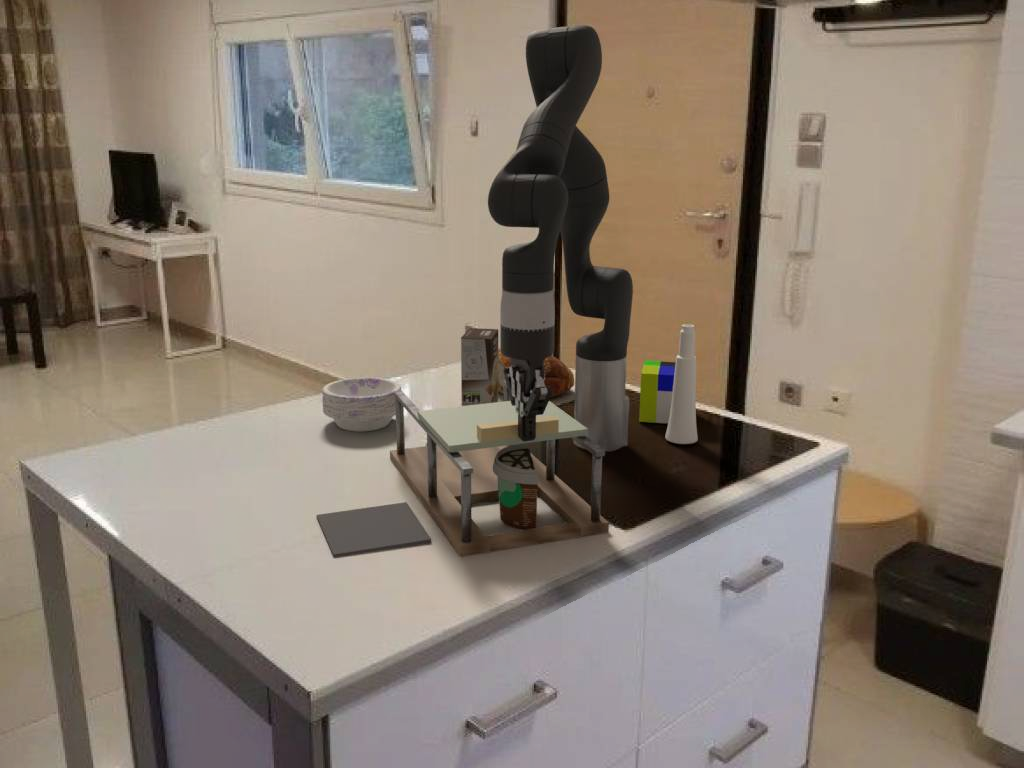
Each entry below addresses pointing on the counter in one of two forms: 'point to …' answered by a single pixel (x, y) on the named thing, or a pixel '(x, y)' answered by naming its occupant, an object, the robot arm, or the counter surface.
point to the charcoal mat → (372, 529)
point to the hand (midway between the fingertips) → (526, 439)
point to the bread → (554, 374)
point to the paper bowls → (360, 403)
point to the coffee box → (479, 366)
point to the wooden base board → (486, 488)
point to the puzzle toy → (656, 391)
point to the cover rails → (467, 469)
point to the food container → (517, 486)
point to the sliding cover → (494, 425)
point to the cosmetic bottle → (684, 392)
